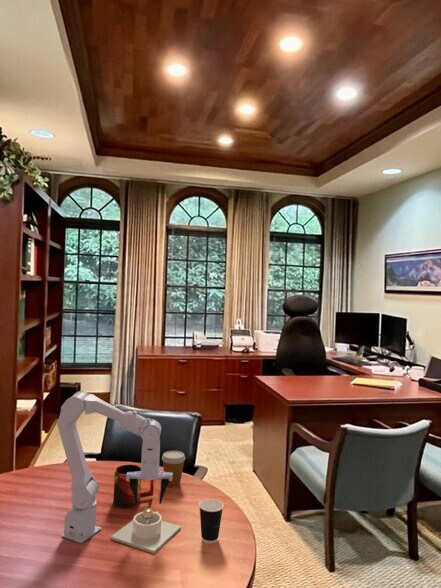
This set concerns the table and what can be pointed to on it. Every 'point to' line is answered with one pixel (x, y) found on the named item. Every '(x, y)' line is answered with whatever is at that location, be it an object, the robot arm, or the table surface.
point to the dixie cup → (210, 519)
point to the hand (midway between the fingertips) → (148, 502)
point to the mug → (127, 488)
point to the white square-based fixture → (146, 533)
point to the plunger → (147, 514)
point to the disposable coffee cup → (173, 466)
